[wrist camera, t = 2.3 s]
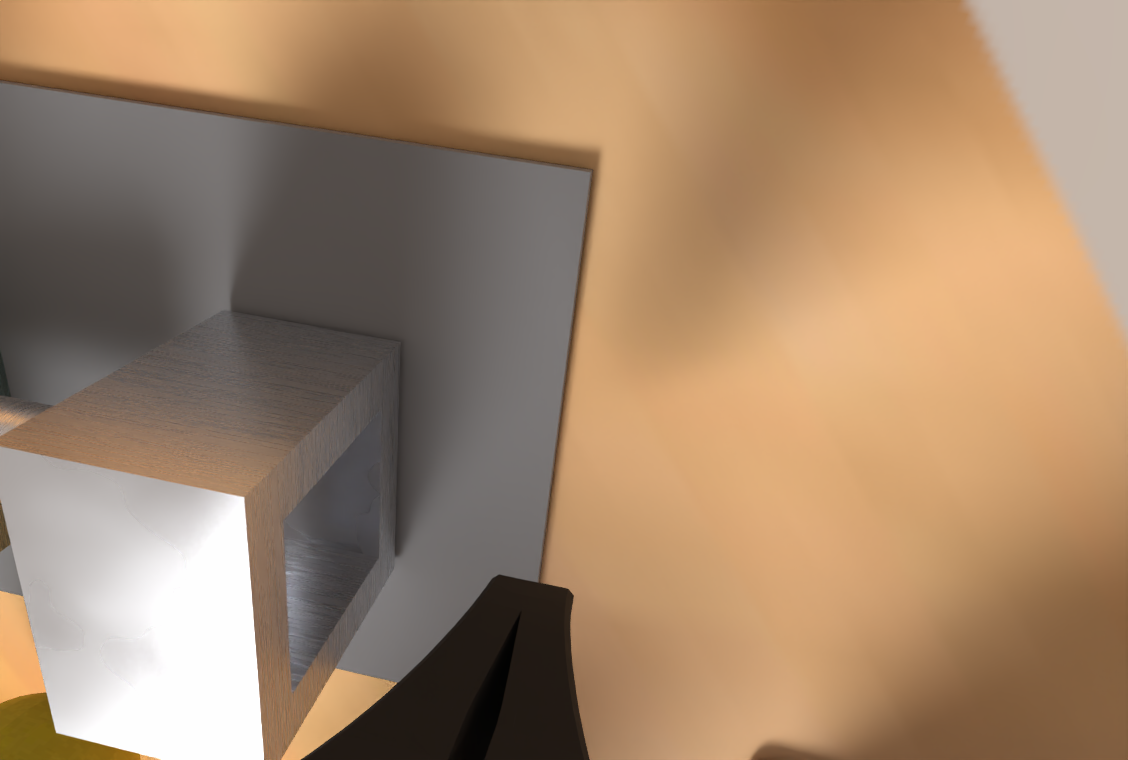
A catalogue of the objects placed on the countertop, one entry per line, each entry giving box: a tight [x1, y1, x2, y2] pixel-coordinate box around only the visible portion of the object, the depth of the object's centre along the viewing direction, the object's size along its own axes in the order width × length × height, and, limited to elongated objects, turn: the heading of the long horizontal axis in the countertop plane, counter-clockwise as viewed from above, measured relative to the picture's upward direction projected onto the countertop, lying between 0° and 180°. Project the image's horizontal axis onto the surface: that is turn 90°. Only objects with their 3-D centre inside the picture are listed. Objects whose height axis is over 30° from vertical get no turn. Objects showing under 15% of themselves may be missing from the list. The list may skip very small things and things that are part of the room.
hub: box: [0, 310, 401, 760], centre depth 15 cm, size 4×6×6 cm, turn 173°
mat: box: [0, 80, 593, 682], centre depth 18 cm, size 18×14×1 cm
